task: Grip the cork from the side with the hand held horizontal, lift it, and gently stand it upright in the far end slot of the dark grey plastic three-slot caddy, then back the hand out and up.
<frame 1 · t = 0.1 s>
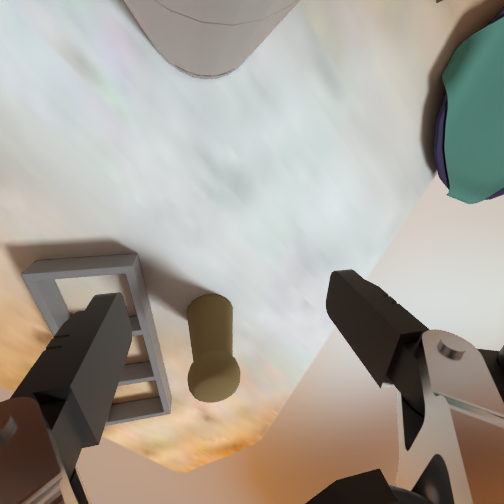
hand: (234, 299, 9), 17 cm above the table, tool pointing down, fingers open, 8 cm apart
cork: (210, 310, 32), on the table
slot caddy: (120, 345, 32), on the table
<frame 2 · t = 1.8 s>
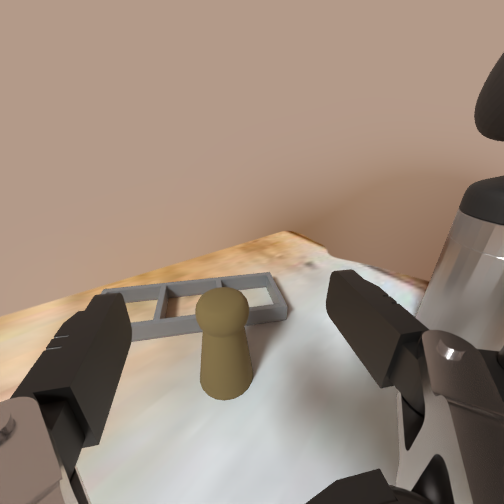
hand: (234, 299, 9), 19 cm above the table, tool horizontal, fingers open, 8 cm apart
cork: (226, 375, 28), on the table
slot caddy: (192, 310, 37), on the table
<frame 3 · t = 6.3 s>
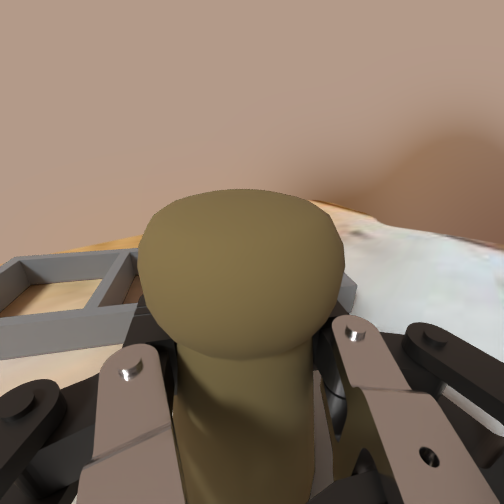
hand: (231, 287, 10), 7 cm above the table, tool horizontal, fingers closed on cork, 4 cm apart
cork: (244, 448, 11), on the table, touching gripper
slot caddy: (174, 295, 20), on the table
when the fingers open (7 cm above the table, at t = 13.5 s): cork stays where it is, resting in slot caddy.
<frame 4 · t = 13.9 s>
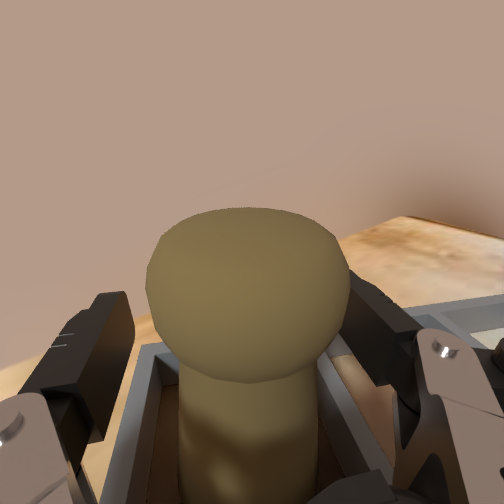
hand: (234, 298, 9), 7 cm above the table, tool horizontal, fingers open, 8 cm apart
cork: (248, 457, 11), resting in slot caddy
slot caddy: (412, 412, 12), on the table
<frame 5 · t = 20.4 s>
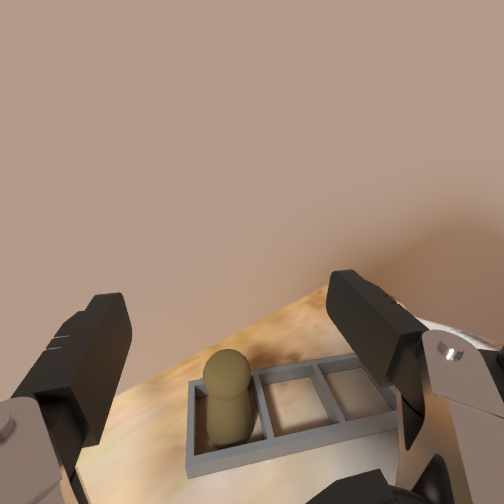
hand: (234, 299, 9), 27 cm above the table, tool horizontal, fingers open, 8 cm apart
cork: (229, 423, 31), resting in slot caddy
slot caddy: (294, 408, 32), on the table
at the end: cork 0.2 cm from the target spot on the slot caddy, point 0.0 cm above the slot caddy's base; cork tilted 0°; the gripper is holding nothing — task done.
